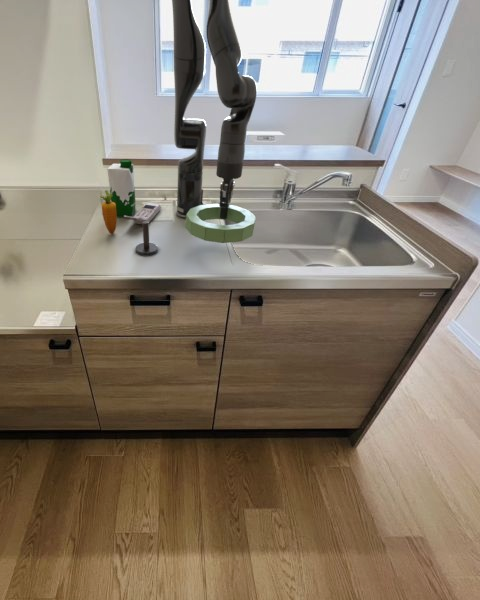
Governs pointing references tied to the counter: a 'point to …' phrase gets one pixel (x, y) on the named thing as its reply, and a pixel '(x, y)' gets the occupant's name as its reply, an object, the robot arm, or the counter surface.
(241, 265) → the counter surface
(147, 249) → the peg stand
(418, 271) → the counter surface
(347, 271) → the counter surface
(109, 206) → the carrot
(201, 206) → the ring
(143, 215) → the mobile phone
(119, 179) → the milk carton
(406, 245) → the counter surface
